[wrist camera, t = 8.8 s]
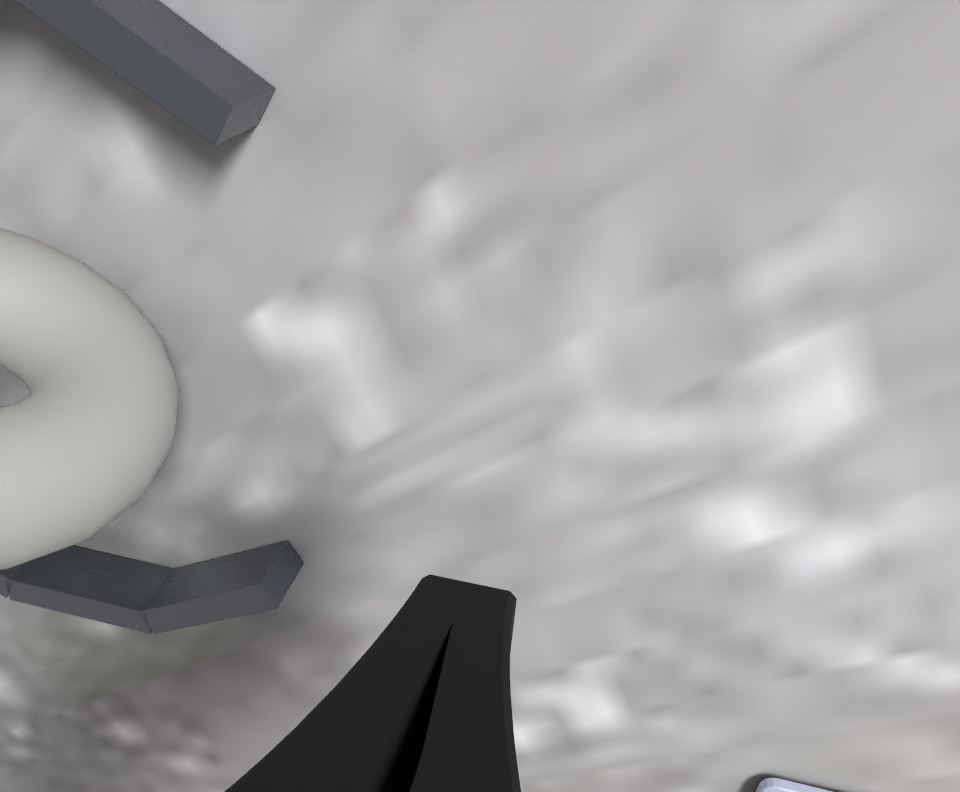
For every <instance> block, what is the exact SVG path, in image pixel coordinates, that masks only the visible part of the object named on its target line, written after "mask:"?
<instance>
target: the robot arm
mask: <svg viewBox="0 0 960 792" xmlns="http://www.w3.org/2000/svg"><path fill="white" fill-rule="evenodd" d="M516 600H517V599H516V597H515V596H514V595H513V594H512V593H511V592H510V591H506V590H502V589H497V588H492V587H487V586H482V585H477V584H473V583H468V582H463V581H458V580H453V579H449V578H444V577H439V576H434V575H428V576H426V577H424V578H422V579H421V581H420V583H419V584H418V586H417V587H416V589H415V590H414V591H413V593H412V594H411V596H410V597H409V598H408V600H407V601H406V603H405V604H404V605H403V607H402V608H401V609H400V611H399V612H398V613H397V615H396V616H395V617H394V618H393V620H392V621H391V622H390V624H389V625H388V626H387V627H386V629H385V630H384V631H383V632H382V633H381V635H380V636H379V637H378V638H377V640H376V641H375V642H374V643H373V645H372V646H371V647H370V648H369V649H368V650H367V651H366V653H365V654H364V655H363V656H362V657H361V658H360V659H359V661H358V662H357V663H356V664H355V665H354V666H353V667H352V669H351V670H350V671H349V672H348V673H347V674H346V675H345V677H344V678H343V679H342V680H341V681H340V682H339V683H338V684H337V685H336V686H335V688H334V689H333V690H332V691H331V692H330V693H329V694H328V695H327V696H326V697H325V698H324V699H323V700H322V701H321V702H320V703H319V704H318V705H317V706H316V707H315V708H314V709H313V710H312V711H311V712H310V713H309V714H308V715H307V716H306V717H305V718H304V719H303V720H302V721H301V722H300V724H299V725H298V726H297V727H296V728H295V729H294V730H293V731H291V732H290V733H289V734H288V735H287V736H286V737H285V738H284V739H283V740H282V741H281V742H280V743H279V744H278V745H277V746H276V747H275V748H274V749H273V750H271V751H270V752H269V753H268V754H267V755H266V756H265V757H264V758H263V759H262V760H261V761H259V762H258V763H257V764H256V765H255V766H254V767H253V768H251V769H250V770H249V771H248V772H247V773H246V774H245V775H244V776H242V777H241V778H240V779H239V780H238V781H237V782H236V783H234V784H233V785H232V786H231V787H230V788H228V789H227V790H226V791H225V792H521V789H520V781H519V774H518V767H517V760H516V751H515V742H514V733H513V720H512V707H511V694H510V650H511V641H512V633H513V625H514V616H515V608H516ZM756 792H833V791H829V790H825V789H821V788H817V787H813V786H808V785H804V784H800V783H796V782H792V781H788V780H784V779H780V778H766V779H764V780H762V781H761V782H760V783H759V785H758V787H757V790H756Z"/></svg>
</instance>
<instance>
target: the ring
mask: <svg viewBox="0 0 960 792" xmlns="http://www.w3.org/2000/svg"><path fill="white" fill-rule="evenodd" d="M16 1H17V2H19V3H20V4H22V5H23V6H24V7H26V8H27V9H28V10H30V11H31V12H33V13H34V14H35V15H37V16H38V17H39V18H41V19H42V20H43V21H45V22H46V23H48V24H49V25H50V26H52V27H53V28H54V29H56V30H57V31H59V32H60V33H61V34H63V35H64V36H65V37H67V38H68V39H70V40H71V41H72V42H74V43H75V44H76V45H78V46H79V47H81V48H82V49H83V50H85V51H86V52H87V53H89V54H90V55H92V56H93V57H94V58H96V59H97V60H98V61H100V62H101V63H103V64H104V65H105V66H107V67H108V68H109V69H111V70H112V71H114V72H115V73H116V74H118V75H119V76H120V77H122V78H123V79H124V80H126V81H127V82H129V83H130V84H131V85H133V86H134V87H135V88H137V89H138V90H140V91H141V92H142V93H144V94H145V95H146V96H148V97H149V98H151V99H152V100H153V101H155V102H156V103H157V104H159V105H160V106H162V107H163V108H164V109H166V110H167V111H168V112H170V113H171V114H173V115H174V116H175V117H177V118H178V119H179V120H181V121H182V122H184V123H185V124H186V125H188V126H189V127H190V128H192V129H193V130H195V131H196V132H197V133H199V134H200V135H201V136H203V137H204V138H205V139H207V140H208V141H210V142H211V143H212V144H214V145H215V146H216V145H218V144H220V143H222V142H224V141H226V140H228V139H230V138H232V137H234V136H236V135H238V134H240V133H242V132H244V131H246V130H248V129H250V128H252V127H254V126H256V125H258V124H259V122H260V120H261V117H262V115H263V113H264V111H265V109H266V107H267V105H268V103H269V101H270V99H271V97H272V95H273V93H274V91H275V89H276V88H275V87H273V86H272V85H271V84H269V83H268V82H267V81H265V80H264V79H262V78H261V77H260V76H258V75H257V74H256V73H254V72H253V71H252V70H250V69H249V68H248V67H246V66H245V65H244V64H242V63H241V62H240V61H238V60H237V59H236V58H234V57H233V56H232V55H230V54H229V53H228V52H226V51H225V50H224V49H222V48H221V47H220V46H218V45H217V44H216V43H214V42H213V41H212V40H210V39H209V38H208V37H206V36H205V35H204V34H202V33H201V32H200V31H198V30H197V29H196V28H194V27H193V26H192V25H190V24H189V23H188V22H186V21H185V20H184V19H182V18H181V17H180V16H178V15H177V14H176V13H174V12H173V11H172V10H170V9H169V8H168V7H166V6H165V5H164V4H162V3H161V2H160V1H158V0H16ZM303 564H304V563H303V562H302V560H301V559H300V557H299V556H298V554H297V553H296V551H295V550H294V549H293V547H292V546H291V544H290V543H289V541H284V542H279V543H275V544H271V545H267V546H263V547H259V548H255V549H251V550H247V551H243V552H239V553H235V554H231V555H227V556H223V557H219V558H215V559H211V560H207V561H203V562H199V563H195V564H191V565H187V566H183V567H179V568H175V569H173V568H168V567H164V566H159V565H155V564H151V563H146V562H142V561H138V560H133V559H129V558H125V557H120V556H116V555H112V554H107V553H103V552H98V551H94V550H90V549H85V548H81V547H77V546H69V547H66V548H64V549H61V550H58V551H55V552H53V553H50V554H47V555H44V556H41V557H39V558H36V559H33V560H30V561H28V562H25V563H22V564H19V565H16V566H14V567H11V568H8V569H3V570H0V594H1V595H3V596H4V597H6V598H7V597H8V596H10V599H11V600H14V601H18V602H22V603H26V604H31V605H35V606H39V607H43V608H47V609H51V610H55V611H59V612H63V613H67V614H72V615H76V616H80V617H84V618H88V619H92V620H96V621H100V622H104V623H108V624H113V625H117V626H121V627H125V628H129V629H133V630H137V631H141V632H145V633H149V634H150V633H151V632H153V633H154V634H156V633H161V632H166V631H170V630H175V629H180V628H185V627H190V626H195V625H199V624H204V623H209V622H214V621H219V620H224V619H228V618H233V617H238V616H243V615H248V614H252V613H257V612H262V611H267V610H272V609H277V608H278V606H279V604H280V603H281V601H282V599H283V598H284V596H285V594H286V593H287V591H288V589H289V588H290V586H291V584H292V582H293V581H294V579H295V577H296V576H297V574H298V572H299V571H300V569H301V567H302V566H303Z"/></svg>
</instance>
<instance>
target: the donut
mask: <svg viewBox="0 0 960 792" xmlns="http://www.w3.org/2000/svg"><path fill="white" fill-rule="evenodd" d="M0 365H1V366H3V367H5V368H7V369H8V370H9V371H11V372H12V373H13V374H14V375H16V376H17V377H18V378H20V379H21V380H22V381H24V383H25V384H26V385H27V387H28V388H29V390H30V393H31V394H30V395H29V396H28V397H27V398H25V399H23V400H21V401H19V402H17V403H15V404H13V405H8V406H4V407H0V570H3V569H8V568H11V567H14V566H16V565H19V564H22V563H25V562H28V561H30V560H33V559H36V558H39V557H41V556H44V555H47V554H50V553H53V552H55V551H58V550H61V549H64V548H66V547H69V546H72V545H75V544H77V543H79V542H82V541H84V540H86V539H88V538H89V537H91V536H92V535H93V534H95V533H96V532H97V531H99V530H100V529H101V528H103V527H104V526H105V525H107V524H108V523H110V522H111V521H112V520H114V519H115V518H116V517H118V516H119V515H120V514H122V513H123V512H124V511H126V510H127V509H129V508H130V507H131V506H133V505H134V504H135V503H137V501H138V500H139V499H140V497H141V496H142V495H143V493H144V492H145V491H146V489H147V488H148V486H149V484H150V483H151V481H152V480H153V478H154V476H155V475H156V473H157V472H158V470H159V468H160V467H161V465H162V464H163V462H164V460H165V459H166V457H167V456H168V454H169V452H170V451H171V449H172V446H173V440H174V435H175V426H176V417H177V407H178V398H179V389H178V385H177V382H176V379H175V375H174V373H173V370H172V367H171V364H170V361H169V358H168V355H167V353H166V350H165V347H164V344H163V341H162V338H161V336H160V335H159V334H158V333H157V332H156V330H155V329H154V328H153V327H152V325H151V324H150V323H149V322H148V320H147V319H146V318H145V317H144V315H143V314H142V313H141V312H140V310H139V309H138V308H137V307H136V305H135V304H134V303H133V302H132V301H131V300H130V299H129V298H128V297H127V296H126V295H125V294H124V293H123V292H122V291H120V290H119V289H118V288H116V287H115V286H114V285H112V284H111V283H110V282H108V281H107V280H106V279H104V278H103V277H102V276H100V275H99V274H98V273H96V272H95V271H94V270H92V269H91V268H90V267H88V266H87V265H86V264H84V263H83V262H81V261H79V260H77V259H75V258H73V257H71V256H69V255H67V254H65V253H63V252H60V251H58V250H56V249H54V248H52V247H50V246H48V245H46V244H44V243H42V242H40V241H38V240H36V239H34V238H32V237H28V236H25V235H22V234H18V233H15V232H12V231H8V230H5V229H2V228H0Z"/></svg>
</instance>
